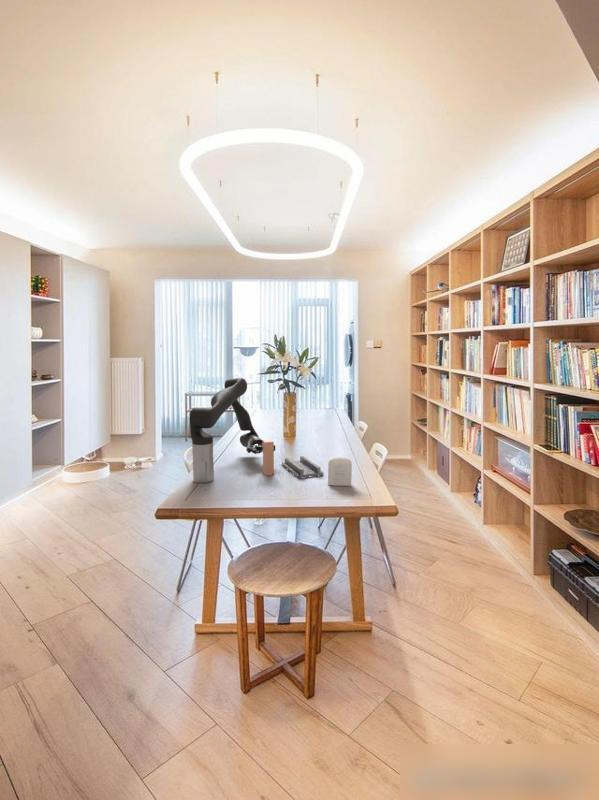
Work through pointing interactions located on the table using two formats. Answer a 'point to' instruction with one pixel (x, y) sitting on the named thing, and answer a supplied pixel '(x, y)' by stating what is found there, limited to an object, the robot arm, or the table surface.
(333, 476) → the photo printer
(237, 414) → the robot arm
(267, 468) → the panel block
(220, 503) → the table surface
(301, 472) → the track
